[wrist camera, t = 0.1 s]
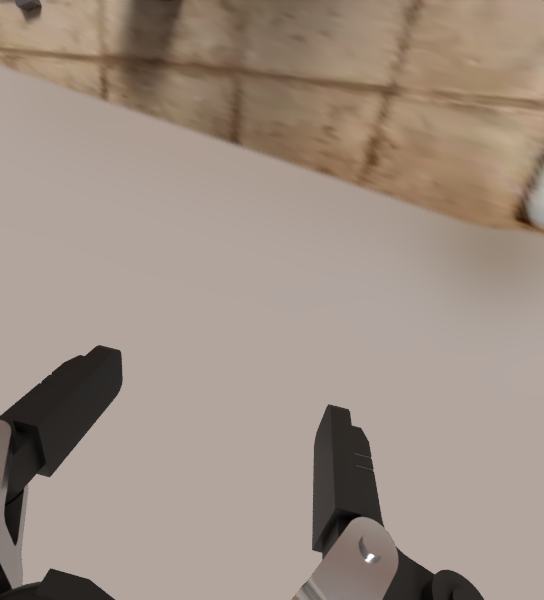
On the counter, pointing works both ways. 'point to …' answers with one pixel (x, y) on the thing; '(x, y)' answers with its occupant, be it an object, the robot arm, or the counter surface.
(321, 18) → the counter surface
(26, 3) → the sprocket plate
